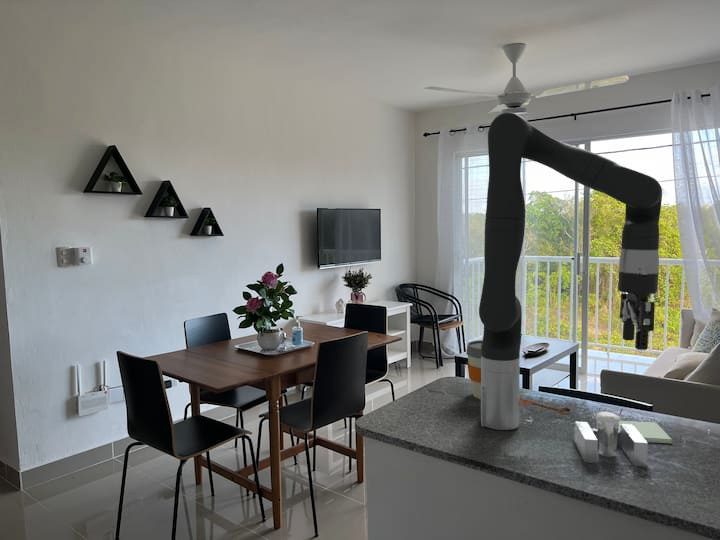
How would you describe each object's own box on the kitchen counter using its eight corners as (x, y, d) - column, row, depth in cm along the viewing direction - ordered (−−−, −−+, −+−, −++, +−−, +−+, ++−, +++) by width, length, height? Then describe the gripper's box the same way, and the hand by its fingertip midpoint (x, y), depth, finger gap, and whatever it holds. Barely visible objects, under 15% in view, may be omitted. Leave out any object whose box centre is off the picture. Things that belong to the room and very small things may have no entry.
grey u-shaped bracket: (584, 462, 110) (584, 439, 109) (573, 440, 121) (573, 418, 120) (647, 466, 107) (647, 442, 107) (630, 443, 118) (630, 421, 118)
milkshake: (626, 458, 111) (627, 412, 110) (601, 458, 111) (602, 412, 110) (616, 449, 115) (617, 405, 115) (591, 449, 115) (592, 405, 115)
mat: (623, 440, 120) (623, 436, 120) (611, 424, 130) (611, 420, 130) (671, 443, 118) (671, 439, 118) (655, 426, 128) (655, 422, 128)
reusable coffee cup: (498, 405, 144) (498, 352, 143) (458, 396, 152) (458, 345, 151) (517, 393, 154) (518, 343, 152) (479, 385, 162) (479, 338, 161)
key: (512, 405, 146) (563, 419, 135) (512, 402, 146) (563, 416, 135) (523, 399, 150) (574, 411, 139) (523, 395, 150) (574, 408, 139)
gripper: (610, 267, 120) (606, 336, 122) (630, 273, 106) (626, 351, 108) (645, 267, 119) (641, 338, 120) (670, 274, 105) (666, 353, 106)
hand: (634, 344), depth 114 cm, fingers open, 8 cm apart
